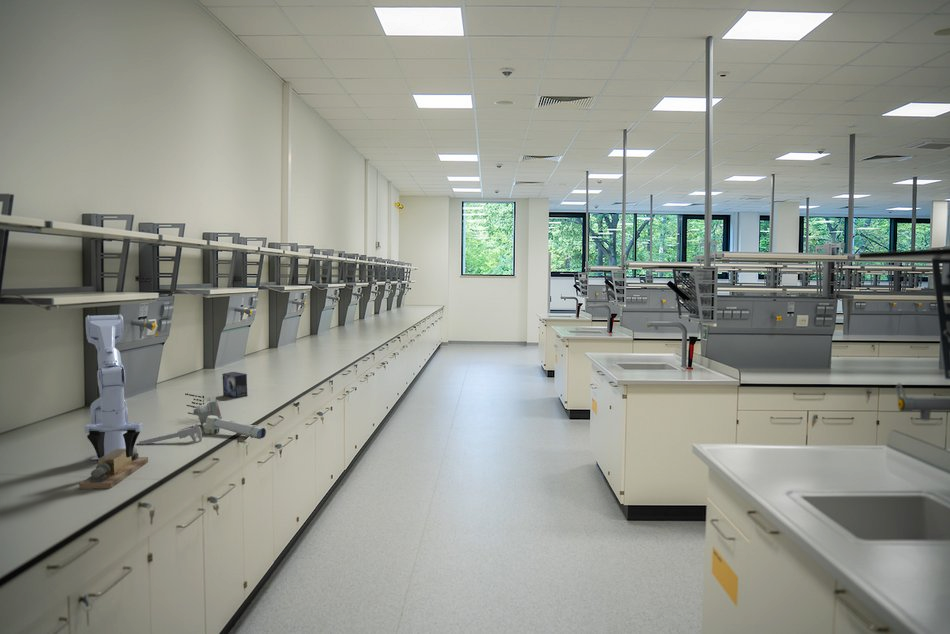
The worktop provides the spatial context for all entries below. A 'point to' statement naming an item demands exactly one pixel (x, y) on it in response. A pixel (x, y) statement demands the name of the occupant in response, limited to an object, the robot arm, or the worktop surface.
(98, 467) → the shaft cradle
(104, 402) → the robot arm
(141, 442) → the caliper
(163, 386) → the worktop surface
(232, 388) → the small box
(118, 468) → the coupling block
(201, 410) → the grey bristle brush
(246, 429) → the blue-tipped grey rod
